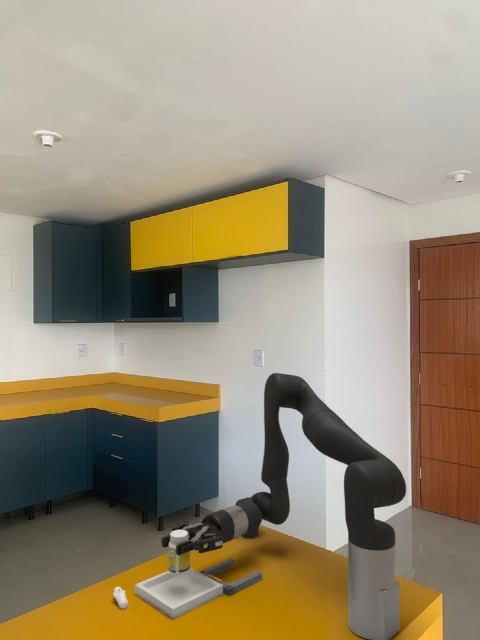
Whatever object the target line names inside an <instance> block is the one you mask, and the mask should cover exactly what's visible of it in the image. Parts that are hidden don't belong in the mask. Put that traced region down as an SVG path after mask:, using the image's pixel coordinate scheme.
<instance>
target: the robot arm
mask: <svg viewBox="0 0 480 640" xmlns="http://www.w3.org/2000/svg"><path fill="white" fill-rule="evenodd" d="M280 408H282V409H283V408H284V409H292V410H295V411H297V412H298V413H300V415H302V418H301V419H302V420H301V429H302V432H303V434H304V436H305V438H306V439H307V440H308V441H309V442H310V443H311V445H313V447H314V448H315V449H316V450H317V451H318V452H320V454H322V455H324V456H326V457H328V458H330V459H332V460H334V461H337V462H339V463H341V464H344V465H347V467H346V468H345V471H344V477H343V492H344V493H343V494H344V495H343V496H344V498H343V499H344V515H345V525H346V528H347V534H348V535H347V553H348V555H347V610H348V611H347V616H348V617H347V624H348V628H349V629H350V630H351V632H352V633H353V634H355V635H357V636H359V637H361V638H364V639H366V640H390V639H391V638H393V636H395V635H396V634H397V633H398V632H400V631H401V630H400V628H401V627H400V626H401V625H400V624H401V621H400V617H401V616H400V615H401V613H400V607H401V606H400V602H401V601H400V600H401V599H400V593H401V592H400V591H401V589H400V585H401V584H400V582H399V581H397V580H396V531H395V528H394V527H393V526H392V525H390V524H389V523H387V522H385V521H382V520H380V519H377V518H375V509H379V508H385V507H391V506H394V505H398V504H400V502H402V501H403V499H404V498H405V497H406V494H407V485H406V484H407V483H406V480H405V478H404V475H403V473H402V470H400V468H399V467H398V466H397V464H395V462H393V460H392V459H390V458H389V457H387V456H386V455H384V454H383V453H382V452H380V451H379V450H377V449H376V448H375V447H374V446H372V445H371V444H369V443H368V442H367V441H366V440H365V439H364V438H362V437H361V436H360V435H359V434H358V433H357V432H356V431H355V430H353V428H351V427H350V426H349V425H348V424H347V423H346V421H344V420H343V419H342V418H341V417H340V416H339V415H338V414H337V413H336V412H335V411H334V410H333V409H331V408H330V407H329V406H328V404H326V403H325V402H324V401H323V400H322V399H321V398H320V397H319V396H318V395H317V394H316V392H315V391H314V390H313V389H312V387H311V386H310V384H309V383H308V382H307V381H306V380H305V379H304V378H303V377H301V376H298V375H295V374H294V375H293V374H287V373H279V372H273V373H271V374H269V376H268V377H267V379H266V381H265V385H264V392H263V423H264V430H263V431H264V444H263V445H264V448H263V457H262V466H261V475H260V477H261V478H260V479H261V481H262V483H263V484H264V485H266V486H267V487H268V489H269V491H270V492H268V491H259V492H256V493H254V494H253V495H251V496H250V498H249V499H248V500H247V501H245V502H244V503H241V504H238V505H233V506H227V507H225V508H221V509H219V510H215V511H212V512H210V513H207V514H206V515H205V516H204V517H203V519H202V520H201V522H197V523H193V524H190V521H189V520H186V519H185V520H183V521H182V522H180V523H178V524H176V525H175V526H173V527H171V532H172V531H175V530H185V531H187V532H188V541H185V542H183V543H180V544H177V545H176V554H177V555H178V556H179V555H182V554H184V553H187V552H189V551H190V552H193V553H194V552H198V554H205V553H209V552H212V551H216V550H220V549H222V548H224V547H223V544H227V543H229V542H231V541H234V540H235V539H238V538H240V537H241V535H243V534H245V533H247V532H249V531H252V530H254V529H256V528H257V527H258V526H259V527H260V526H261V523H262V521H265V522H269V523H270V524H274V525H276V526H279V525H282V524H284V523H285V522H286V521H287V519H288V517H289V514H290V511H291V503H290V494H289V486H288V480H287V479H288V472H289V464H290V451H289V447H288V444H287V441H286V439H285V437H284V434H283V432H282V428H281V425H280V424H281V423H280V417H279V415H280ZM160 541H161V542H160V543H161V547H162V548H167V547H168V548H169V542H170V534H168V535H165V536H162V537H161V540H160Z"/></svg>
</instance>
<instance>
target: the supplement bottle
mask: <svg viewBox="0 0 480 640" xmlns="http://www.w3.org/2000/svg"><path fill="white" fill-rule="evenodd" d="M169 535H170V542H169V546H168V571H169V572H170V573H171V574H174V575H182V574H186V573H187V572H188V571H189V570H190V568H191V555H190V554H191V551H189V552H187V553H184V554H182V555H179V556H178V555H177V554H176V545H177V544H180V543H183V542H185V541H188V538H189V532H187V531H185V530H175V531H172V530H171V532H170V534H169Z"/></svg>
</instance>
